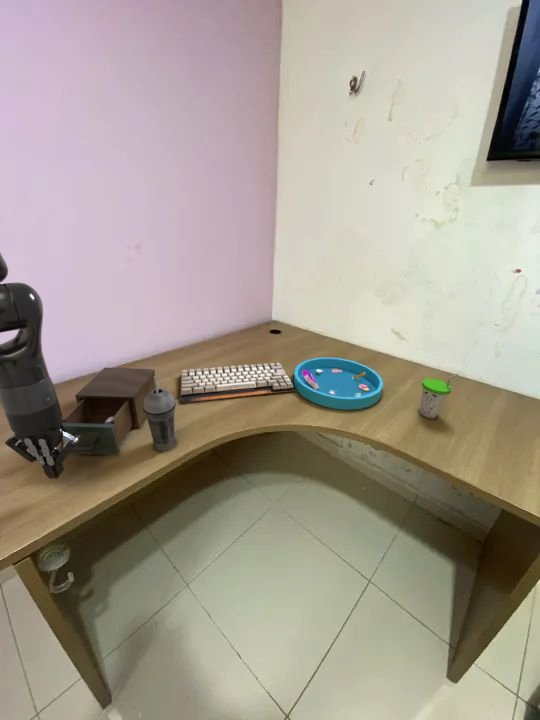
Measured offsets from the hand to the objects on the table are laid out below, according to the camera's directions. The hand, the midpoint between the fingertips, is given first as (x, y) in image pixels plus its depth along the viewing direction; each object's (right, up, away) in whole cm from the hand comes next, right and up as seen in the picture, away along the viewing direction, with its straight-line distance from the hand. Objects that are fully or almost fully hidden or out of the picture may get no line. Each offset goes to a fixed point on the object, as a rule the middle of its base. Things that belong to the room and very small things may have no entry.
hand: (55, 475), depth 61 cm
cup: (+91, +6, +34) cm, 97 cm away
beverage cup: (+16, +1, +17) cm, 23 cm away
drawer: (0, +3, +16) cm, 16 cm away
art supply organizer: (+66, +14, +48) cm, 82 cm away
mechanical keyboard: (+31, +14, +46) cm, 57 cm away
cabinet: (0, +8, +29) cm, 30 cm away
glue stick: (+1, +5, +15) cm, 16 cm away
